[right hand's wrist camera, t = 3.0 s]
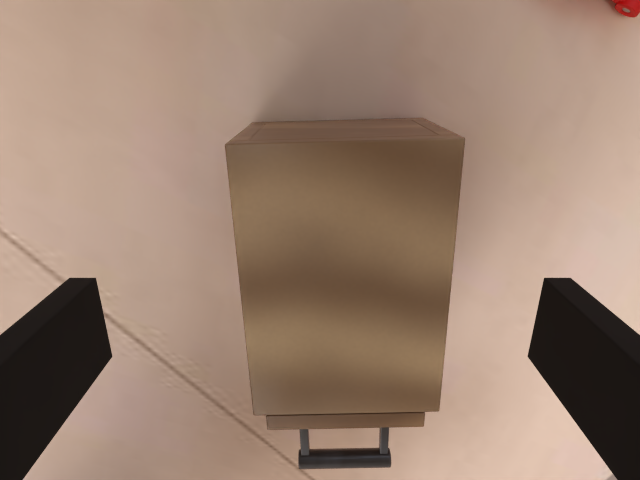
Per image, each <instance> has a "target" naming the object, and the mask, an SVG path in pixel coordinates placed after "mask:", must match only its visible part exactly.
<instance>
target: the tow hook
mask: <svg viewBox="0 0 640 480" xmlns="http://www.w3.org/2000/svg"><path fill="white" fill-rule="evenodd" d="M612 1H613V2H614V3H616V5H615V9H616V10H617V11H618V12H619V13H621V14H623V15H625V16H628V17H636V16H637V15H638V14H639V13H640V0H612Z"/></svg>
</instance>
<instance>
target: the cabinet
mask: <svg viewBox="0 0 640 480" xmlns="http://www.w3.org/2000/svg"><path fill="white" fill-rule="evenodd" d="M464 145H465V138H464V137H462V136H460V135H457V134H455V133H453V132H451V131H449V130H447V129H445V128H443V127H441V126H438V125H436V124H434V123H432V122H430V121H428V120H426V119H424V118H400V119H364V120H328V121H291V122H255V123H251V124H250V125H249V126H248V127H247V128H245V129H244V130H243V131H242V132H240V133H239V134H238V135H236V136H235V137H234V138H233V139H231V140H230V141H229V142H228V143H226V144H225V150H226V160H227V169H228V178H229V188H230V197H231V207H232V216H233V225H234V235H235V244H236V254H237V263H238V273H239V282H240V291H241V301H242V310H243V320H244V329H245V338H246V348H247V357H248V367H249V376H250V385H251V395H252V404H253V414H254V415H292V414H340V413H388V412H436V411H439V407H440V397H441V386H442V376H443V365H444V355H445V344H446V334H447V323H448V313H449V302H450V292H451V281H452V271H453V260H454V250H455V239H456V229H457V218H458V208H459V197H460V187H461V176H462V166H463V155H464Z"/></svg>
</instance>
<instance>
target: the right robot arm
mask: <svg viewBox="0 0 640 480" xmlns="http://www.w3.org/2000/svg"><path fill="white" fill-rule="evenodd" d="M111 358H112V353H111V348H110V343H109V339H108V334H107V329H106V324H105V319H104V315H103V310H102V305H101V300H100V296H99V291H98V286H97V281H96V278H69V279H68V280H67V281H65V282H64V283H63V284H62V285H60V286H59V287H58V288H57V289H56V290H54V291H53V292H52V293H51V294H50V295H48V296H47V297H46V298H45V299H44V300H42V301H41V302H40V303H39V304H37V305H36V306H35V307H34V308H33V309H31V310H30V311H29V312H28V313H27V314H25V315H24V316H23V317H22V318H21V319H19V320H18V321H17V322H16V323H14V324H13V325H12V326H11V327H10V328H8V329H7V330H6V331H5V332H4V333H2V334H1V335H0V480H23V478H24V477H25V476H26V474H27V473H28V471H29V470H30V469H31V467H32V466H33V465H34V463H35V462H36V461H37V459H38V458H39V456H40V455H41V454H42V452H43V451H44V450H45V448H46V447H47V445H48V444H49V443H50V441H51V440H52V439H53V437H54V436H55V434H56V433H57V432H58V430H59V429H60V428H61V426H62V425H63V423H64V422H65V421H66V419H67V418H68V417H69V415H70V414H71V412H72V411H73V410H74V408H75V407H76V406H77V404H78V403H79V401H80V400H81V399H82V397H83V396H84V395H85V393H86V392H87V390H88V389H89V388H90V386H91V385H92V384H93V382H94V381H95V379H96V378H97V377H98V375H99V374H100V373H101V371H102V370H103V368H104V367H105V366H106V364H107V363H108V362H109V360H110V359H111ZM528 358H529V359H530V360H531V362H532V363H533V364H534V366H535V367H536V368H537V370H538V371H539V373H540V374H541V375H542V377H543V378H544V379H545V381H546V382H547V384H548V385H549V386H550V388H551V389H552V390H553V392H554V393H555V395H556V396H557V397H558V399H559V400H560V401H561V403H562V404H563V406H564V407H565V408H566V410H567V411H568V412H569V414H570V415H571V417H572V418H573V419H574V421H575V422H576V423H577V425H578V426H579V428H580V429H581V430H582V432H583V433H584V434H585V436H586V437H587V439H588V440H589V441H590V443H591V444H592V445H593V447H594V448H595V450H596V451H597V452H598V454H599V455H600V456H601V458H602V459H603V461H604V462H605V463H606V465H607V466H608V467H609V469H610V470H611V471H612V473H613V474H614V476H615V477H616V478H617V480H640V335H639V334H638V333H636V332H635V331H634V330H633V329H632V328H630V327H629V326H628V325H627V324H626V323H624V322H623V321H622V320H621V319H619V318H618V317H617V316H616V315H615V314H613V313H612V312H611V311H610V310H609V309H607V308H606V307H605V306H604V305H603V304H601V303H600V302H599V301H598V300H596V299H595V298H594V297H593V296H592V295H590V294H589V293H588V292H587V291H586V290H584V289H583V288H582V287H581V286H580V285H578V284H577V283H576V282H575V281H573V280H572V279H571V278H544V281H543V286H542V291H541V296H540V300H539V305H538V310H537V315H536V319H535V324H534V329H533V334H532V339H531V343H530V348H529V353H528Z"/></svg>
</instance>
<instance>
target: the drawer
mask: <svg viewBox="0 0 640 480" xmlns="http://www.w3.org/2000/svg"><path fill="white" fill-rule="evenodd" d="M424 417H425V412H388V413H340V414H292V415H266V419H267V429H268V430H283V429H300V443H301V449H300V450H299V469H334V468H385V467H391V454H390V449H389V448H388V439H389V427H423V426H424ZM332 428H380V432H379V448H347V449H309V430H308V429H332Z"/></svg>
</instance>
